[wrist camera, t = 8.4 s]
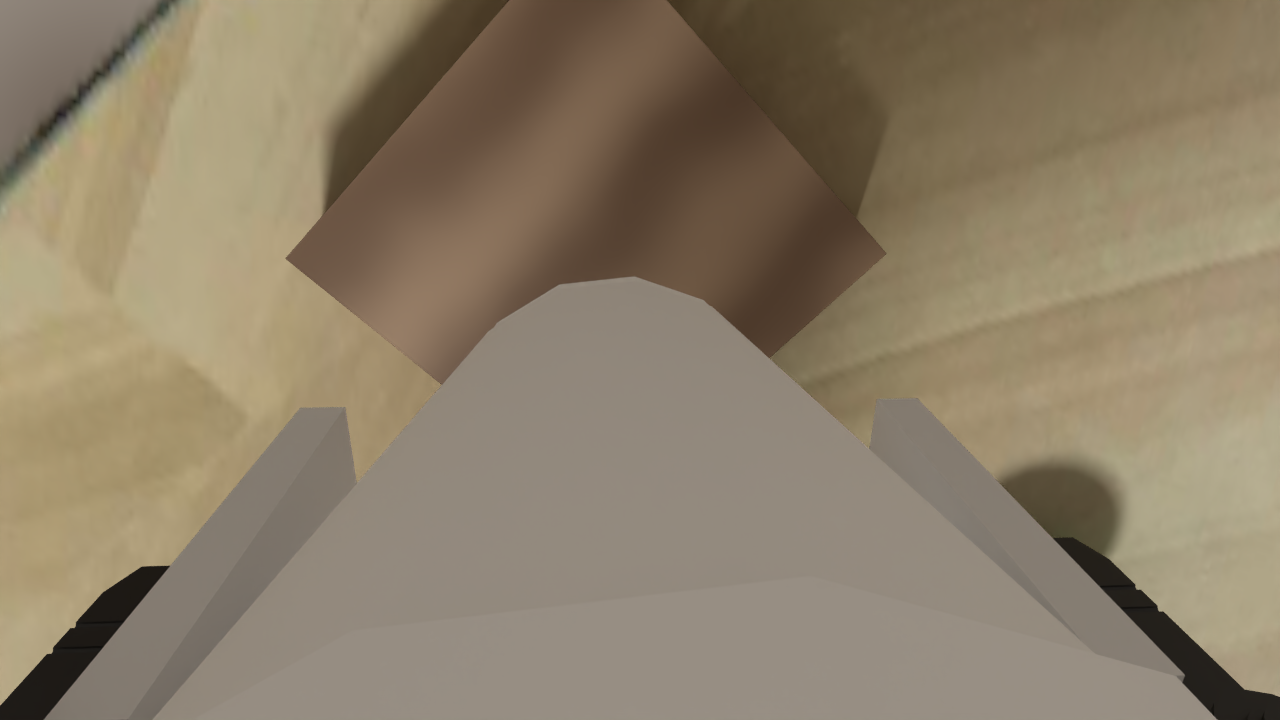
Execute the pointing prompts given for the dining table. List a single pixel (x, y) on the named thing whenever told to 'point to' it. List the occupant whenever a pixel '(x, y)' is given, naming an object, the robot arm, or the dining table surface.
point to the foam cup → (646, 557)
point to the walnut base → (582, 188)
